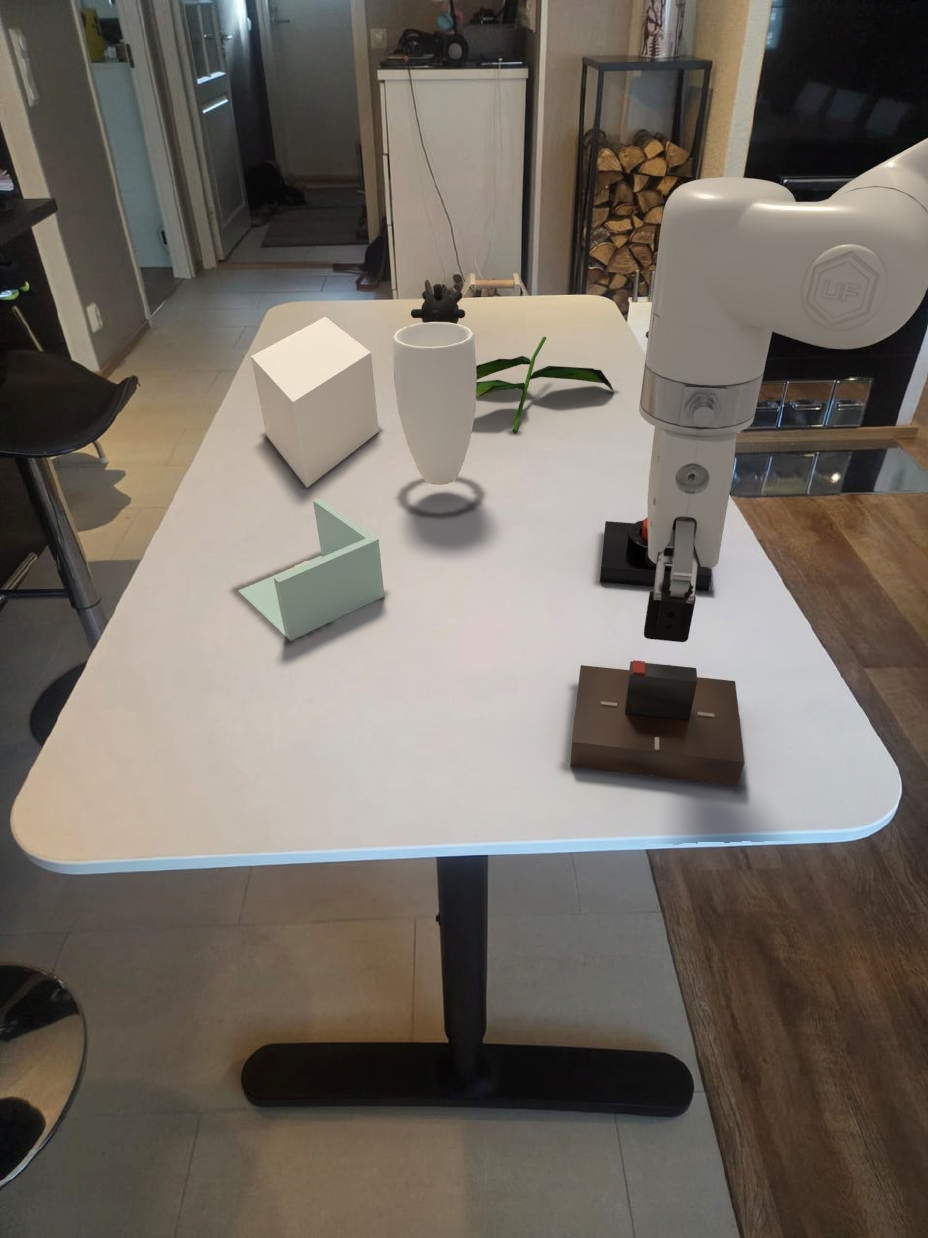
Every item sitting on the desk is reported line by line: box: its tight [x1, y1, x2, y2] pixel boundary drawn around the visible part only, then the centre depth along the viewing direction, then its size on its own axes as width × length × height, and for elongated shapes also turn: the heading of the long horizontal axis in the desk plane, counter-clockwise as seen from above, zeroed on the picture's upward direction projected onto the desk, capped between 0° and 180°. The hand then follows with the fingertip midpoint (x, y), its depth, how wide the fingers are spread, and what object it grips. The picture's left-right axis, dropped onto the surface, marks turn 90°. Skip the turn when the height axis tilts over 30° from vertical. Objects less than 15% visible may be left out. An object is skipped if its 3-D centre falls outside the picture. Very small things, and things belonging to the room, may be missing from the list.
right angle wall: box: [238, 497, 385, 642], centre depth 88 cm, size 12×12×8 cm
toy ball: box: [410, 283, 466, 324], centre depth 156 cm, size 11×11×12 cm
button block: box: [599, 519, 713, 593], centre depth 92 cm, size 12×10×4 cm
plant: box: [476, 336, 615, 433], centre depth 130 cm, size 19×27×8 cm
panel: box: [569, 664, 745, 787], centre depth 71 cm, size 14×10×3 cm
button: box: [641, 517, 648, 541], centre depth 91 cm, size 4×4×2 cm
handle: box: [625, 659, 698, 720], centre depth 68 cm, size 6×2×5 cm, turn 79°
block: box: [250, 316, 380, 488], centre depth 120 cm, size 18×35×12 cm, turn 1°
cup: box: [391, 322, 478, 486], centre depth 101 cm, size 10×10×22 cm
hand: (664, 599), depth 63 cm, fingers open, 9 cm apart
